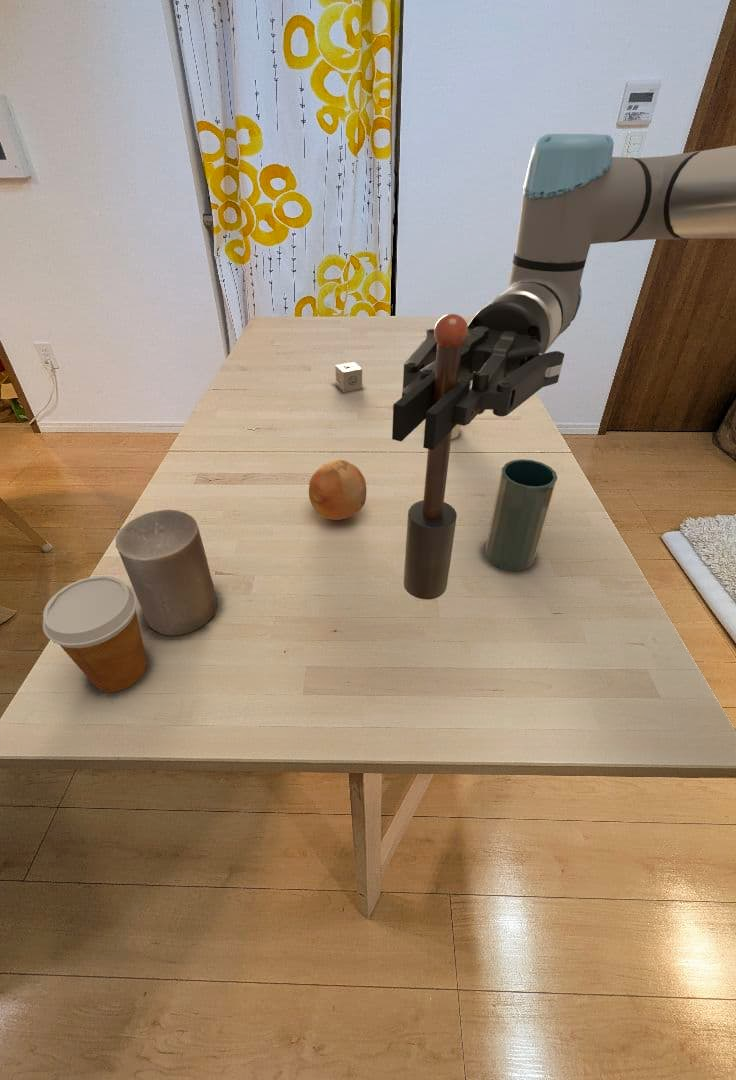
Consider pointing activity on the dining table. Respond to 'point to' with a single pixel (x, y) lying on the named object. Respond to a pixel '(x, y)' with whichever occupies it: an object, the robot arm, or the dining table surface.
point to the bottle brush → (435, 482)
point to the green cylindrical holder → (519, 513)
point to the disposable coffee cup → (98, 630)
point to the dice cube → (348, 376)
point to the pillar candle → (168, 571)
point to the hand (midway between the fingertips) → (413, 427)
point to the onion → (337, 490)
